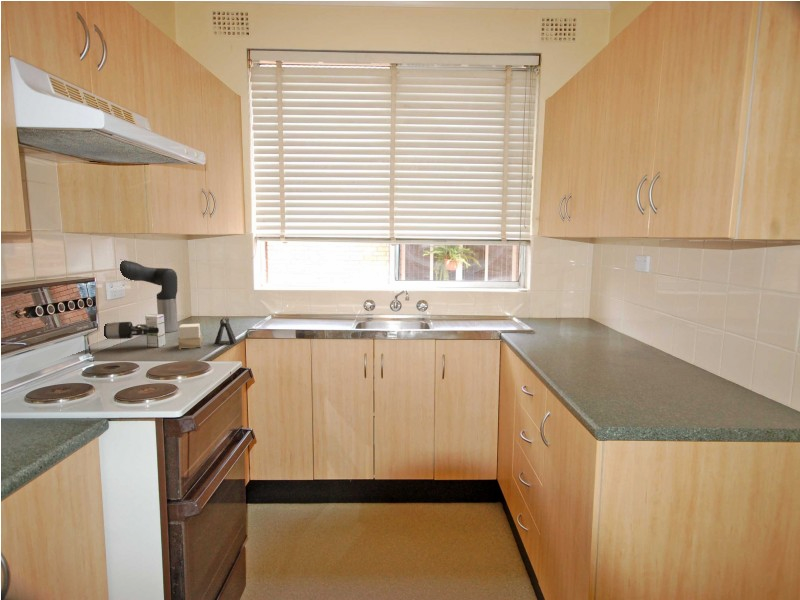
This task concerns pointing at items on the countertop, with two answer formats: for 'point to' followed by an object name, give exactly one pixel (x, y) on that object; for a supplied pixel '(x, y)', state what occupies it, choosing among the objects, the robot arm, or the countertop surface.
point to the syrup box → (155, 322)
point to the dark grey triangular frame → (229, 333)
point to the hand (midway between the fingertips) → (160, 328)
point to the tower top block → (189, 330)
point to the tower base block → (190, 342)
